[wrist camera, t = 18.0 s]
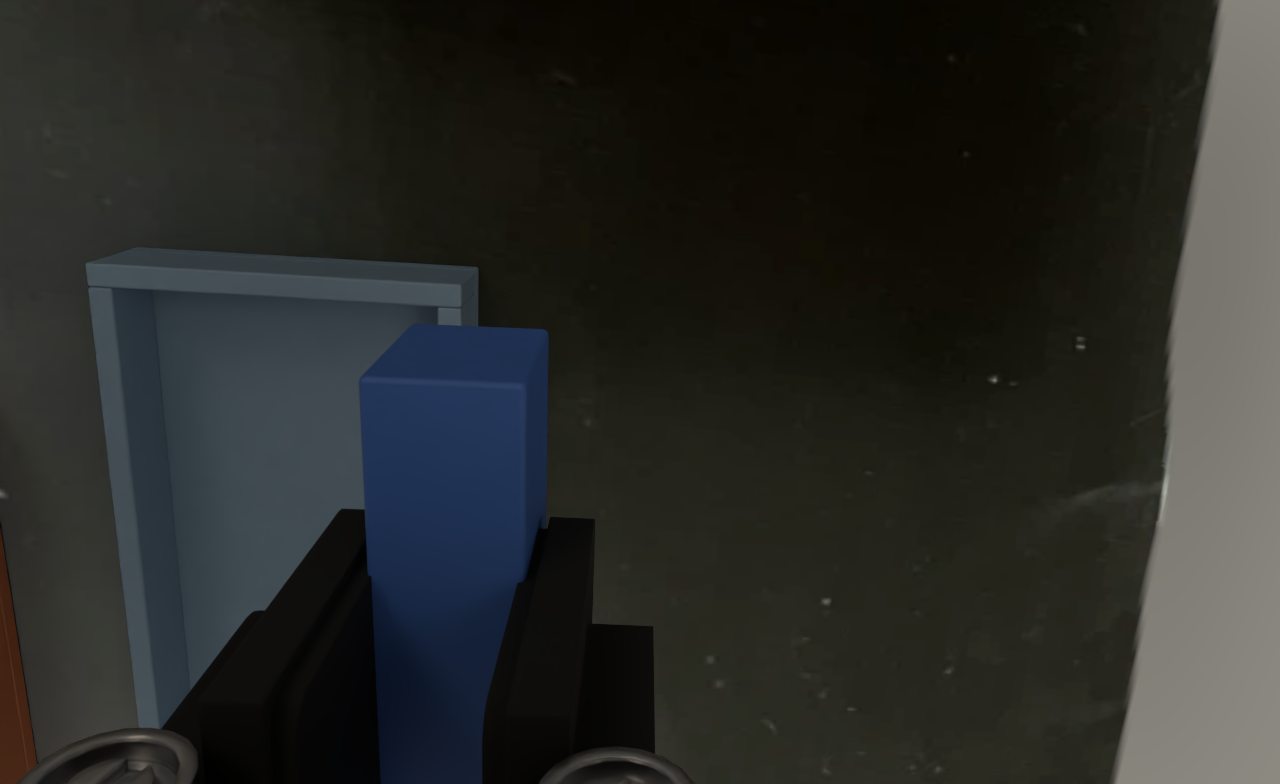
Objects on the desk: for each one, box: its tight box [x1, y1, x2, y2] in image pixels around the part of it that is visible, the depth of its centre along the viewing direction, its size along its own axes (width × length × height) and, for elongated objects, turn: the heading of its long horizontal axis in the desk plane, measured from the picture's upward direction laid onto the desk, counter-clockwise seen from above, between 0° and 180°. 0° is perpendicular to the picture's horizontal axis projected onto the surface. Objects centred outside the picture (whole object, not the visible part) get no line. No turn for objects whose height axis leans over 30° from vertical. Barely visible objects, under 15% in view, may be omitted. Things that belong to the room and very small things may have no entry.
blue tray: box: [86, 247, 479, 729], centre depth 27 cm, size 15×9×2 cm, turn 177°
